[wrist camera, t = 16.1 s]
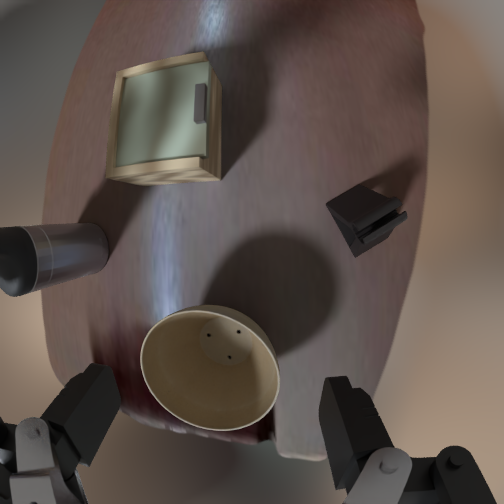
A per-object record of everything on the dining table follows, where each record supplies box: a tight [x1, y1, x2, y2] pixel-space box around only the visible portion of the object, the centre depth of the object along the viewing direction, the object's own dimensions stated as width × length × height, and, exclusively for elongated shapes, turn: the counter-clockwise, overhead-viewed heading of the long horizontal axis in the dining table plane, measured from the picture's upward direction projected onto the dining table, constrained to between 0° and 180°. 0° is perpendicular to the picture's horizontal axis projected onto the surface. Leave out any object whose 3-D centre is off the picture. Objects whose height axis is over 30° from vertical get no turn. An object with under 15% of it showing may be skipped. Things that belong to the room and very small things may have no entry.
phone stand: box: [326, 185, 407, 258], centre depth 34 cm, size 9×6×12 cm, turn 31°
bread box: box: [105, 51, 222, 186], centre depth 36 cm, size 14×16×12 cm
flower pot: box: [141, 305, 280, 431], centre depth 38 cm, size 18×18×12 cm
